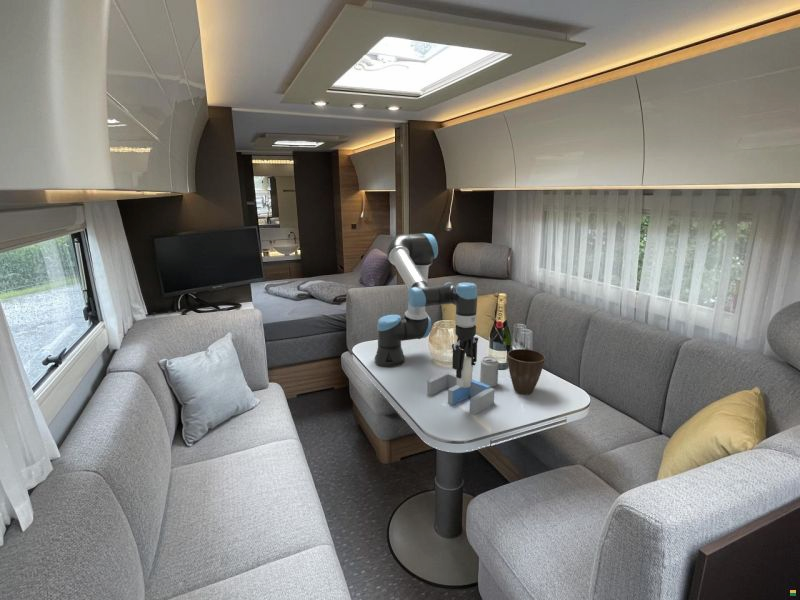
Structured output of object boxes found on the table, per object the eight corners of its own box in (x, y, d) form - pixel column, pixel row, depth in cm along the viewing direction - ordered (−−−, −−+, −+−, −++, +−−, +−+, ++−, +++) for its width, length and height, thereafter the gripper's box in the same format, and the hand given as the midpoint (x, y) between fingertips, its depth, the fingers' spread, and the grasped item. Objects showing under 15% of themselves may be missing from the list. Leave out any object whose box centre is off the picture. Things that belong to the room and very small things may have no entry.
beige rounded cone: (455, 384, 153) (456, 358, 150) (462, 381, 156) (463, 354, 153) (465, 388, 149) (466, 361, 147) (473, 384, 152) (473, 358, 150)
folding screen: (427, 394, 166) (427, 379, 164) (447, 384, 175) (447, 370, 173) (474, 414, 149) (475, 398, 148) (494, 402, 158) (494, 387, 157)
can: (477, 385, 173) (478, 360, 170) (482, 379, 180) (483, 354, 177) (494, 389, 170) (496, 363, 167) (499, 382, 176) (500, 357, 173)
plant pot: (514, 379, 178) (516, 346, 175) (547, 389, 169) (550, 354, 165) (499, 391, 167) (501, 356, 164) (534, 402, 158) (536, 365, 154)
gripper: (459, 332, 138) (457, 393, 144) (488, 321, 150) (485, 378, 156) (442, 327, 143) (441, 387, 149) (471, 317, 156) (470, 373, 161)
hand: (464, 382), depth 152 cm, fingers closed on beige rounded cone, 5 cm apart
